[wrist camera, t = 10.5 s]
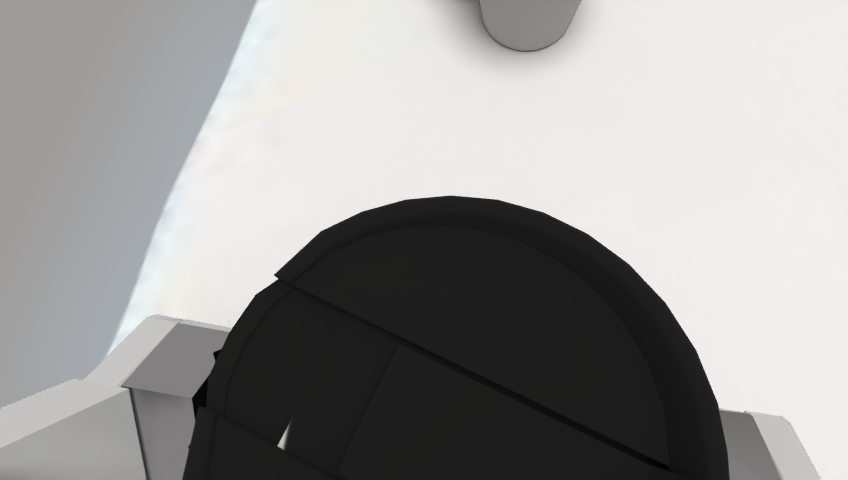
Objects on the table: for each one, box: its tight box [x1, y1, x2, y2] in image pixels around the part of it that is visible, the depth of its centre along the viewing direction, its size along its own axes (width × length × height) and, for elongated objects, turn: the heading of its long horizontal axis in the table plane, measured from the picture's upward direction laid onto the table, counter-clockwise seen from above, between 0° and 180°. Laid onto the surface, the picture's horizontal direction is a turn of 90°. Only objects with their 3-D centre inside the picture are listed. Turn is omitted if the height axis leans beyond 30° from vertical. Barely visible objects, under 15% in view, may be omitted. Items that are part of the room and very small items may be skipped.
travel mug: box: [182, 196, 730, 480], centre depth 16 cm, size 6×7×20 cm
